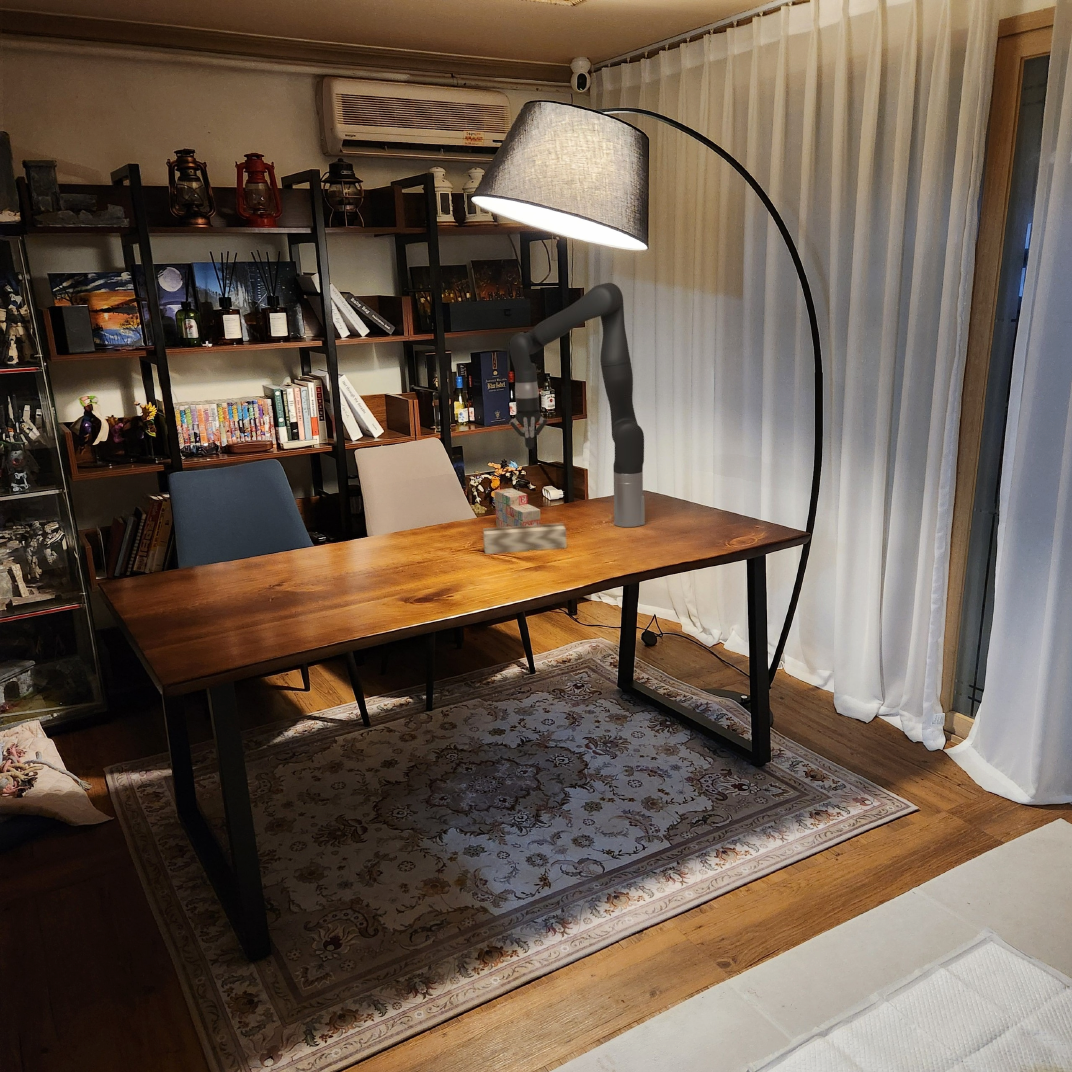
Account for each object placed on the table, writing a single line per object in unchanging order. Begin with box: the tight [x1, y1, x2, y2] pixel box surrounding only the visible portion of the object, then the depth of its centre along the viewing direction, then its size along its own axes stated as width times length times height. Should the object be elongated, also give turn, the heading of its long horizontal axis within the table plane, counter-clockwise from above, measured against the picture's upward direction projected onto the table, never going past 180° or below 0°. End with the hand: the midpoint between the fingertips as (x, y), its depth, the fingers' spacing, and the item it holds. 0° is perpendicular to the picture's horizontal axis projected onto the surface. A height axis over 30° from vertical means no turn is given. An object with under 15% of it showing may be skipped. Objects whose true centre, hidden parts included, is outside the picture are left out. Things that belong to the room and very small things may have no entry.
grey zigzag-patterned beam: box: [482, 522, 567, 555], centre depth 272 cm, size 24×5×7 cm, turn 98°
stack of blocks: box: [494, 487, 541, 527], centre depth 290 cm, size 21×6×12 cm, turn 25°
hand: (529, 448), depth 304 cm, fingers closed
